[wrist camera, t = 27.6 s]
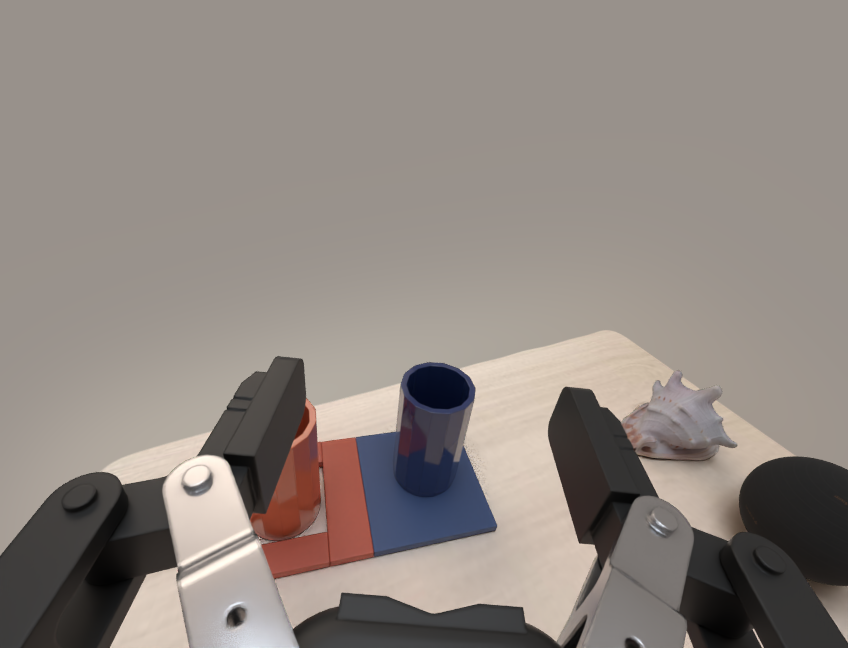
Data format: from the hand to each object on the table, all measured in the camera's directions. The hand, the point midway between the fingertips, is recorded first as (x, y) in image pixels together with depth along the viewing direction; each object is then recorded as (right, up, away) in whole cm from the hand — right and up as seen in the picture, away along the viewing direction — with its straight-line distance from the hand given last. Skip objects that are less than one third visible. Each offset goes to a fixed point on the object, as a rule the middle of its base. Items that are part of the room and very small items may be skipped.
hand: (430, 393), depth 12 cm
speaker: (+33, -19, +25) cm, 46 cm away
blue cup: (0, -12, +27) cm, 30 cm away
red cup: (-13, -14, +23) cm, 30 cm away
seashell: (+29, -12, +35) cm, 47 cm away
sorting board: (-6, -14, +25) cm, 29 cm away
